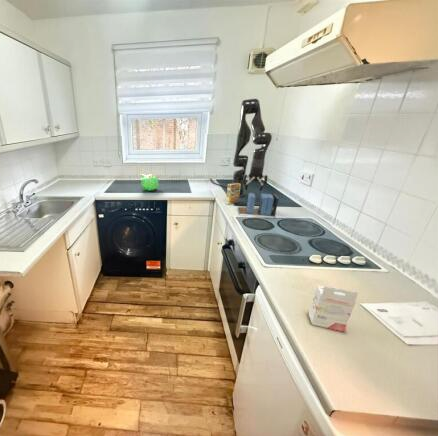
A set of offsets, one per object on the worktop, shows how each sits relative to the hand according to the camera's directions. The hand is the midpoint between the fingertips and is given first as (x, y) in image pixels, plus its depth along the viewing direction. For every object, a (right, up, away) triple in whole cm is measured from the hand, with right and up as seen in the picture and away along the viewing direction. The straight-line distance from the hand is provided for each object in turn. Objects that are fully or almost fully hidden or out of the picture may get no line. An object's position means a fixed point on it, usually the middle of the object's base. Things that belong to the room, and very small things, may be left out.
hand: (253, 190), depth 157 cm
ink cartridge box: (-14, -52, -82) cm, 98 cm away
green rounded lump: (-69, +7, +61) cm, 92 cm away
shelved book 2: (+10, -15, +3) cm, 18 cm away
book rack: (+4, -15, +5) cm, 16 cm away
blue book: (0, -14, +6) cm, 15 cm away
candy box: (-5, -7, +25) cm, 26 cm away
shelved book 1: (+7, -15, +4) cm, 17 cm away
